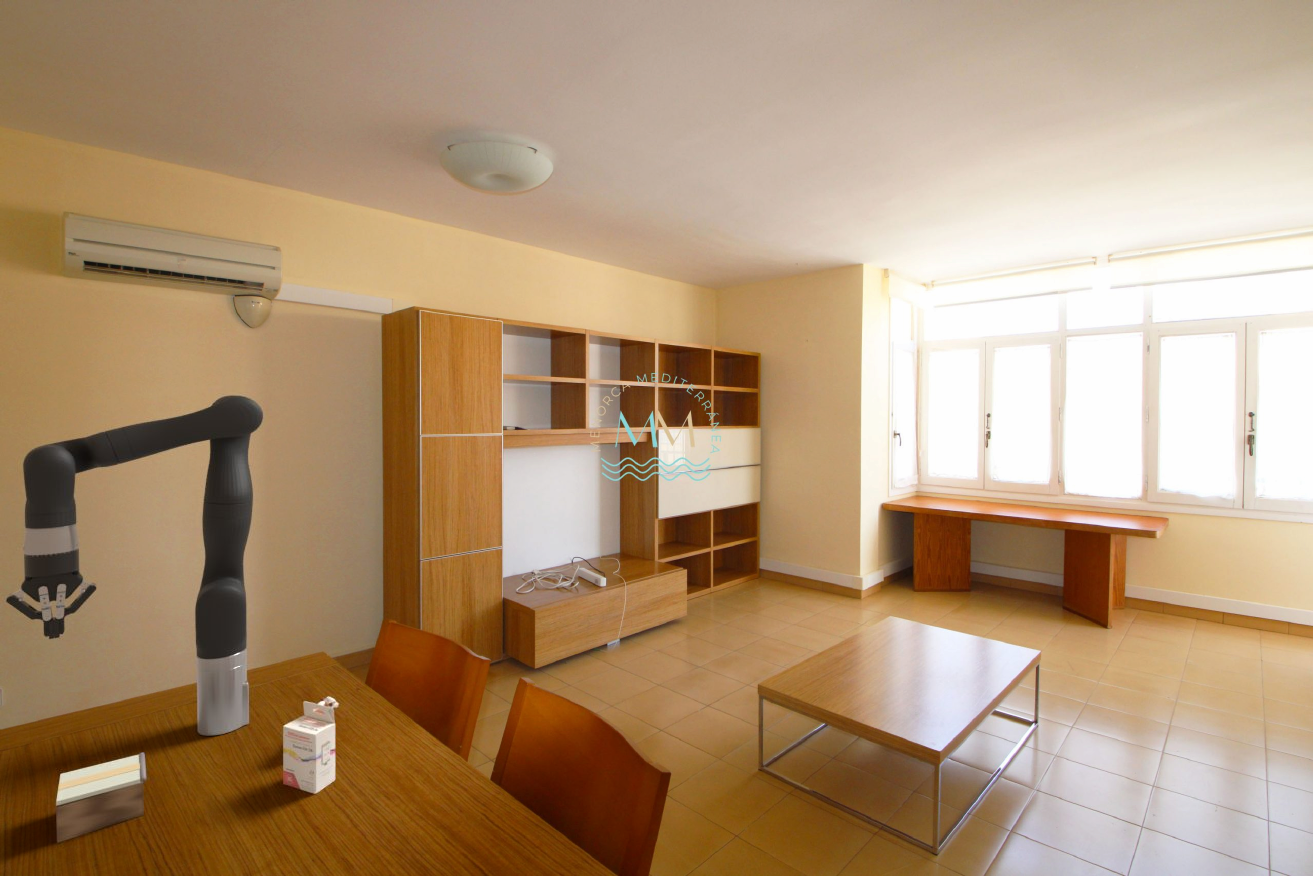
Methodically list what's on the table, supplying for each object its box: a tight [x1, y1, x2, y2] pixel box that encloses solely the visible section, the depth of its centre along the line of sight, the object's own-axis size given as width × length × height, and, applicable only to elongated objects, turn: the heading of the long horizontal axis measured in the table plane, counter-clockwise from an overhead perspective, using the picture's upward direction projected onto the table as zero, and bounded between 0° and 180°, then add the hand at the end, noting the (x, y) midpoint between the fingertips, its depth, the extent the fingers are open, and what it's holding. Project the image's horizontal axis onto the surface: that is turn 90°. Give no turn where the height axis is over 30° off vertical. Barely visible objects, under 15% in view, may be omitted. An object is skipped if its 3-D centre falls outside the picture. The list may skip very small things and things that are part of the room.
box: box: [55, 782, 145, 844], centre depth 108 cm, size 11×10×6 cm
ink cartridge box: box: [282, 700, 336, 795], centre depth 118 cm, size 9×5×15 cm, turn 71°
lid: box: [55, 752, 147, 807], centre depth 108 cm, size 12×10×1 cm
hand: (54, 637), depth 118 cm, fingers closed
